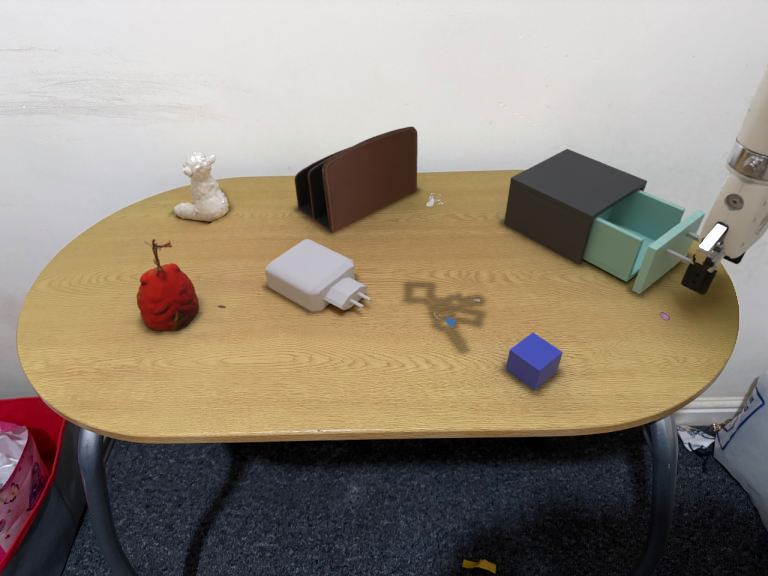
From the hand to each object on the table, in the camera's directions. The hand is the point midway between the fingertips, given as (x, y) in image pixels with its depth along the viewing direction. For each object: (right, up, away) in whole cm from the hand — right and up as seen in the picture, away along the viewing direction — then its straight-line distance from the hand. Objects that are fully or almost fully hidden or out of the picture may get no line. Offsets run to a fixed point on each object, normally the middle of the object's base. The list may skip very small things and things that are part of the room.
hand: (710, 273), depth 73 cm
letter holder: (-49, +13, +24) cm, 56 cm away
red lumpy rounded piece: (-74, -7, +2) cm, 74 cm away
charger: (-53, -3, +5) cm, 53 cm away
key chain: (-35, -5, +2) cm, 35 cm away
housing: (-14, +8, +16) cm, 23 cm away
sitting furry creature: (-75, +11, +23) cm, 80 cm away
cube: (-26, -13, -7) cm, 30 cm away
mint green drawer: (-6, +2, +8) cm, 10 cm away
